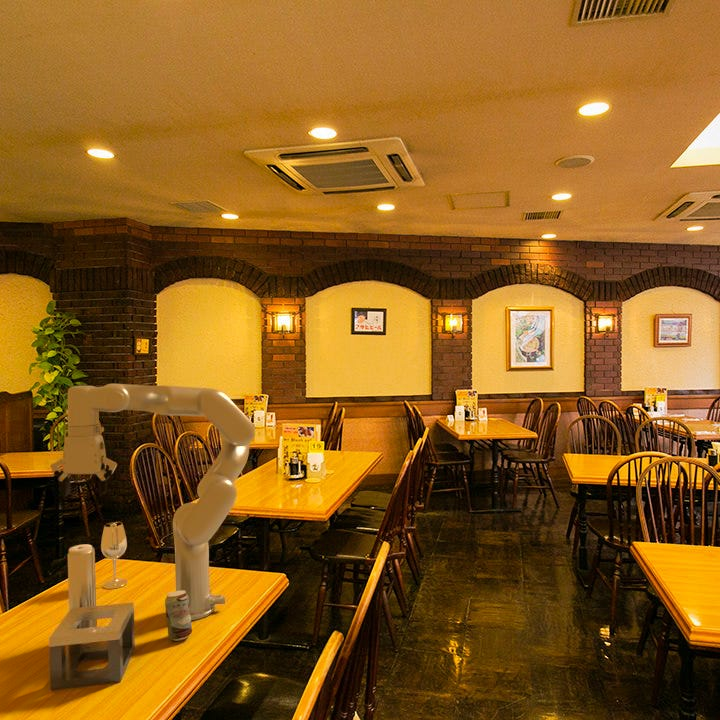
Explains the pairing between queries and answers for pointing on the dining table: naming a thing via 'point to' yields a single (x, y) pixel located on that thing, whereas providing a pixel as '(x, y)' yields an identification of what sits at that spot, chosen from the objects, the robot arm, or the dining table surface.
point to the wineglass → (114, 549)
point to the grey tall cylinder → (82, 580)
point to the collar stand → (74, 636)
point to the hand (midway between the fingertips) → (84, 494)
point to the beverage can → (178, 615)
